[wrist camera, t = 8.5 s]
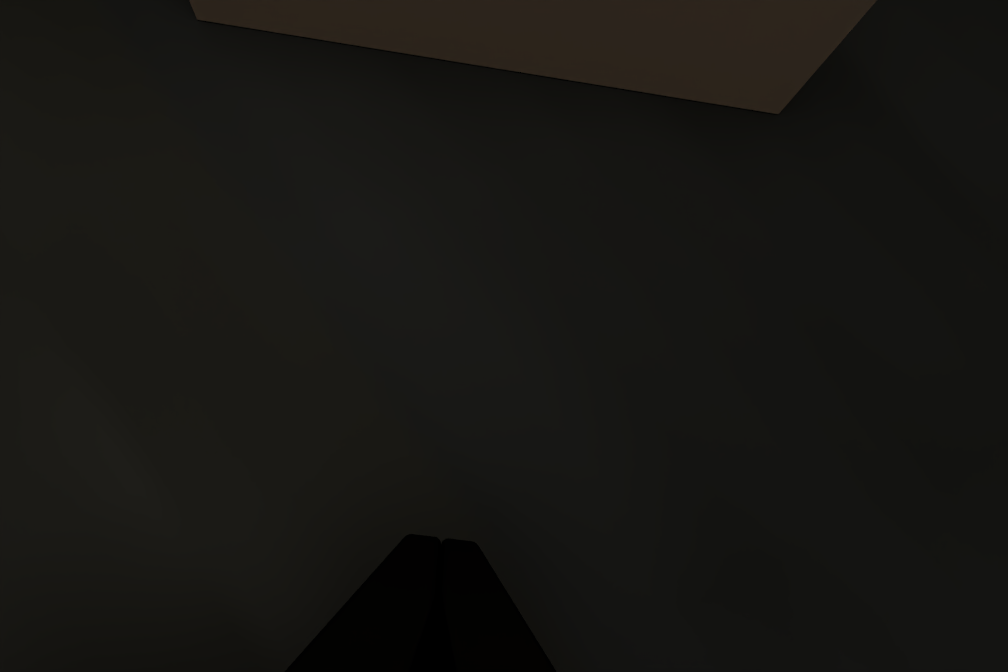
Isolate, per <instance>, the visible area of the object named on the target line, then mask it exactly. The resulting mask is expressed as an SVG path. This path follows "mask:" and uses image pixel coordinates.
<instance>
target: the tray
mask: <svg viewBox="0 0 1008 672" xmlns="http://www.w3.org/2000/svg"><path fill="white" fill-rule="evenodd" d="M189 1H190V3H191V6H192V8H193V11H194V13H195V15H196V18H197V20H203V21H209V22H215V23H221V24H227V25H233V26H239V27H246V28H252V29H258V30H264V31H270V32H276V33H282V34H289V35H295V36H301V37H307V38H313V39H319V40H325V41H332V42H338V43H344V44H350V45H356V46H362V47H368V48H375V49H381V50H387V51H393V52H399V53H405V54H411V55H418V56H424V57H430V58H436V59H442V60H448V61H454V62H461V63H467V64H473V65H479V66H485V67H491V68H497V69H504V70H510V71H516V72H522V73H528V74H534V75H540V76H547V77H553V78H559V79H565V80H571V81H577V82H583V83H590V84H596V85H602V86H608V87H614V88H620V89H626V90H633V91H639V92H645V93H651V94H657V95H663V96H669V97H676V98H682V99H688V100H694V101H700V102H706V103H712V104H719V105H725V106H731V107H737V108H743V109H749V110H755V111H762V112H768V113H774V114H779V113H780V112H781V111H782V110H783V108H784V107H785V106H786V105H787V104H788V103H789V101H790V100H791V99H792V98H793V97H794V96H795V94H796V93H797V92H798V91H799V90H800V89H801V87H802V86H803V85H804V84H805V83H806V82H807V81H808V79H809V78H810V77H811V76H812V75H813V74H814V72H815V71H816V70H817V69H818V68H819V67H820V65H821V64H822V63H823V62H824V61H825V60H826V59H827V57H828V56H829V55H830V54H831V53H832V52H833V50H834V49H835V48H836V47H837V46H838V45H839V43H840V42H841V41H842V40H843V39H844V38H845V37H846V35H847V34H848V33H849V32H850V31H851V30H852V28H853V27H854V26H855V25H856V24H857V23H858V21H859V20H860V19H861V18H862V17H863V16H864V15H865V13H866V12H867V11H868V10H869V9H870V8H871V6H872V5H873V4H874V3H875V2H876V1H877V0H189Z"/></svg>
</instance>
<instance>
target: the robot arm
mask: <svg viewBox="0 0 1008 672" xmlns="http://www.w3.org/2000/svg"><path fill="white" fill-rule="evenodd" d="M285 672H556V670H555V669H554V667H553V666H552V664H551V662H550V661H549V659H548V657H547V656H546V654H545V653H544V651H543V649H542V648H541V646H540V645H539V643H538V641H537V640H536V638H535V636H534V635H533V633H532V632H531V630H530V628H529V627H528V625H527V624H526V622H525V620H524V619H523V617H522V615H521V614H520V612H519V611H518V609H517V607H516V606H515V604H514V603H513V601H512V599H511V598H510V596H509V594H508V593H507V591H506V590H505V588H504V586H503V585H502V583H501V582H500V580H499V578H498V577H497V575H496V573H495V572H494V570H493V569H492V567H491V565H490V564H489V562H488V560H487V559H486V557H485V556H484V554H483V552H482V551H481V549H480V548H479V546H478V545H477V544H476V543H475V542H472V541H464V540H456V539H445V540H443V542H442V544H441V542H440V540H439V539H438V538H437V537H431V536H423V535H415V534H409V535H407V536H405V537H404V538H403V539H402V540H401V542H400V543H399V544H398V545H397V546H396V547H395V548H394V549H393V551H392V552H391V553H390V554H389V555H388V556H387V557H386V558H385V560H384V561H383V562H382V563H381V564H380V565H379V566H378V567H377V569H376V570H375V571H374V572H373V573H372V574H371V575H370V576H369V578H368V579H367V580H366V581H365V582H364V583H363V584H362V585H361V586H360V588H359V589H358V590H357V591H356V592H355V593H354V594H353V595H352V597H351V598H350V599H349V600H348V601H347V602H346V603H345V604H344V606H343V607H342V608H341V609H340V610H339V611H338V612H337V613H336V615H335V616H334V617H333V618H332V619H331V620H330V621H329V622H328V624H327V625H326V626H325V627H324V628H323V629H322V630H321V631H320V633H319V634H318V635H317V636H316V637H315V638H314V639H313V640H312V642H311V643H310V644H309V645H308V646H307V647H306V648H305V649H304V651H303V652H302V653H301V654H300V655H299V656H298V657H297V658H296V660H295V661H294V662H293V663H292V664H291V665H290V666H289V667H288V669H287V670H286V671H285Z"/></svg>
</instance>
